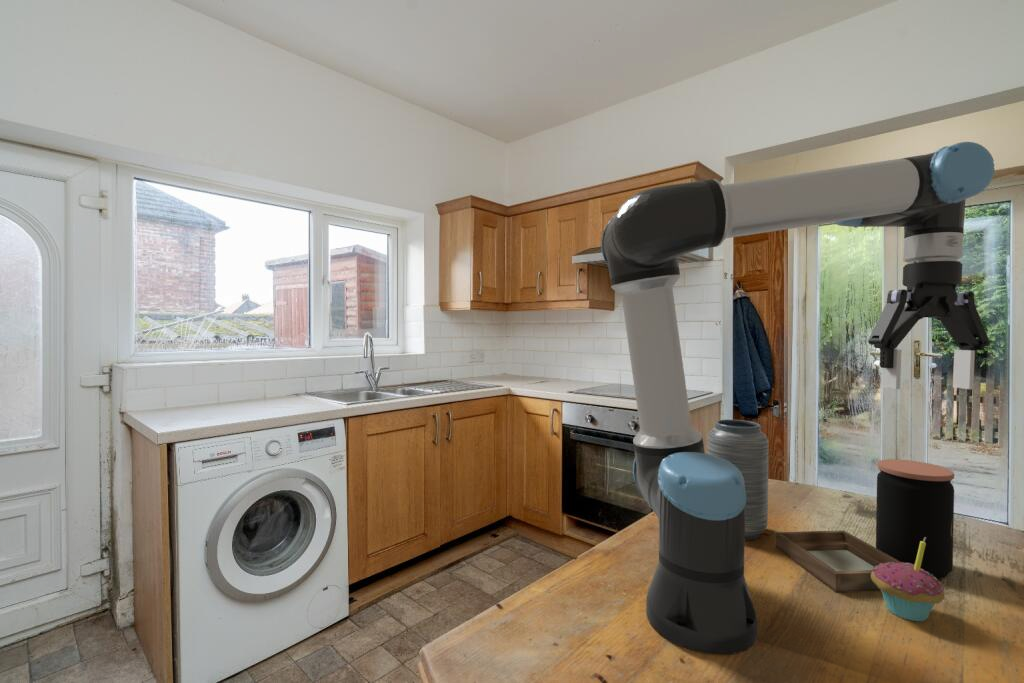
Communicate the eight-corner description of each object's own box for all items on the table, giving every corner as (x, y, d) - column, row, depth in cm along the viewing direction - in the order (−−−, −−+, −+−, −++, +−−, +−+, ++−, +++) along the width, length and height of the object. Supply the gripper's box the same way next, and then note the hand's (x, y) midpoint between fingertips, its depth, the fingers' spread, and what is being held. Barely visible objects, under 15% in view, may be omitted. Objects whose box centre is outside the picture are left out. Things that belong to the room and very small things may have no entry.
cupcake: (937, 607, 74) (939, 530, 73) (950, 637, 67) (952, 552, 66) (868, 591, 78) (869, 518, 78) (873, 617, 71) (874, 537, 71)
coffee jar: (968, 584, 80) (971, 477, 80) (895, 578, 82) (897, 474, 82) (927, 555, 91) (929, 460, 90) (863, 550, 93) (865, 457, 92)
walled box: (835, 592, 78) (835, 573, 78) (775, 547, 94) (775, 532, 94) (916, 589, 79) (917, 571, 79) (843, 545, 95) (843, 530, 95)
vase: (737, 517, 109) (738, 416, 108) (780, 538, 98) (782, 426, 97) (695, 524, 105) (696, 420, 105) (735, 546, 94) (736, 430, 94)
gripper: (884, 256, 75) (879, 390, 76) (1023, 261, 78) (1017, 391, 79) (846, 262, 83) (841, 385, 83) (973, 267, 86) (969, 385, 86)
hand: (927, 388), depth 81 cm, fingers open, 13 cm apart
